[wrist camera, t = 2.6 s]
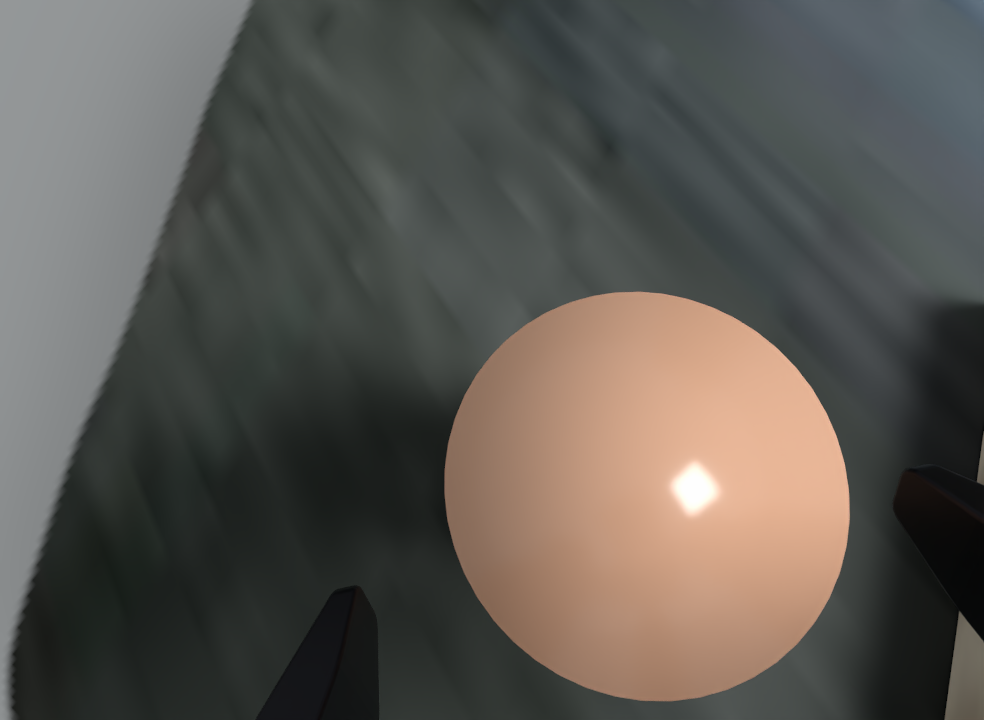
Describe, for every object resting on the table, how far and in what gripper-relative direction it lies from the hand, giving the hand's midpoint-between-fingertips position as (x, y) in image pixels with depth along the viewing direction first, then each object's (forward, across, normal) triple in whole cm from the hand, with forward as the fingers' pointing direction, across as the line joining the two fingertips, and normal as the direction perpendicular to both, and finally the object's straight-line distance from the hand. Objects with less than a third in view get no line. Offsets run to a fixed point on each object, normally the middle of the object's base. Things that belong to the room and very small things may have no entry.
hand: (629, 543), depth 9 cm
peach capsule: (+7, 0, +6) cm, 9 cm away
